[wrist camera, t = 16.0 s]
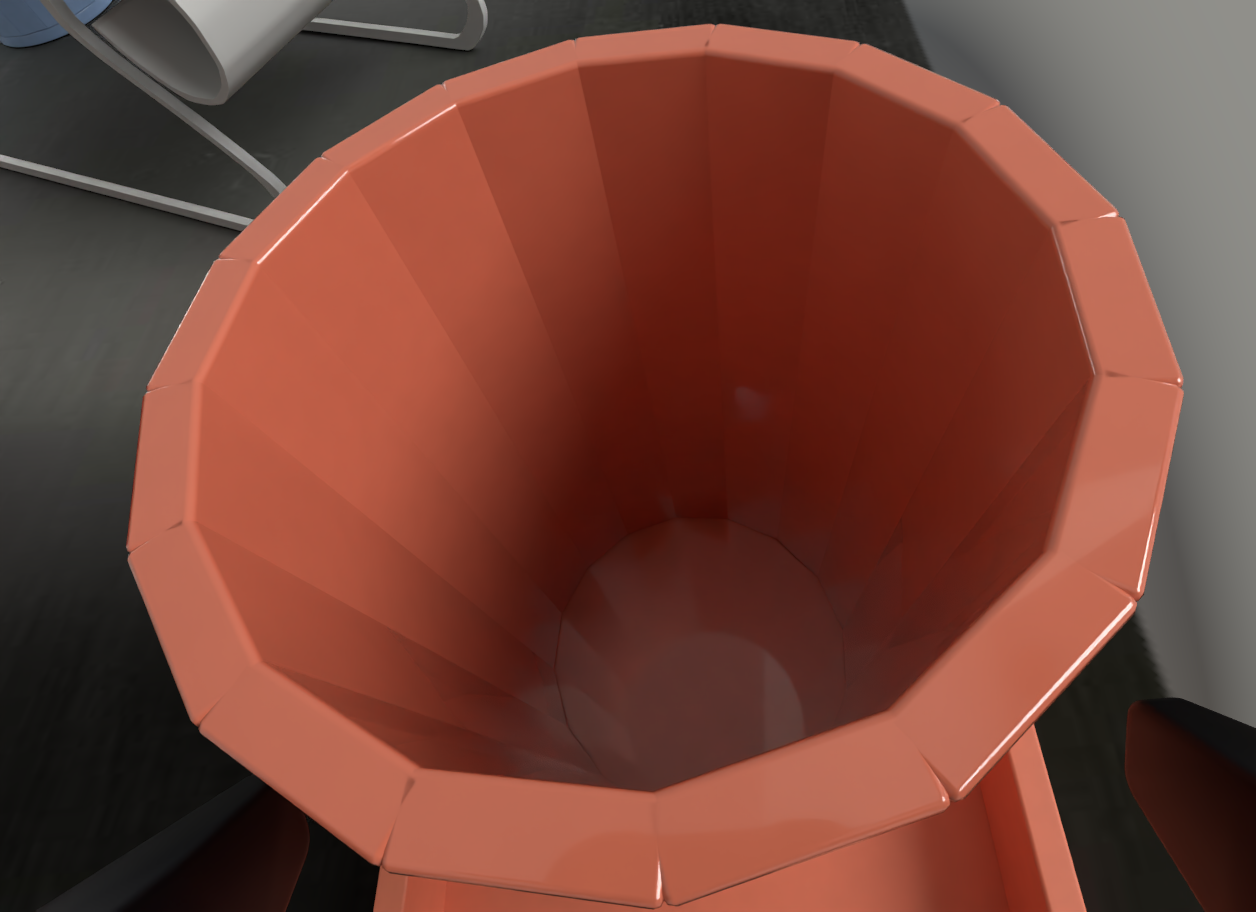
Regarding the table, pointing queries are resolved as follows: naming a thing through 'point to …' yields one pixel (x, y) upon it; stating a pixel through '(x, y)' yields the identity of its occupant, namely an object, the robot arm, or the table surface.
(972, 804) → the coral tray
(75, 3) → the blue cup
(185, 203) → the chair
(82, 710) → the table surface
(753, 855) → the coral cup
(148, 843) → the robot arm
